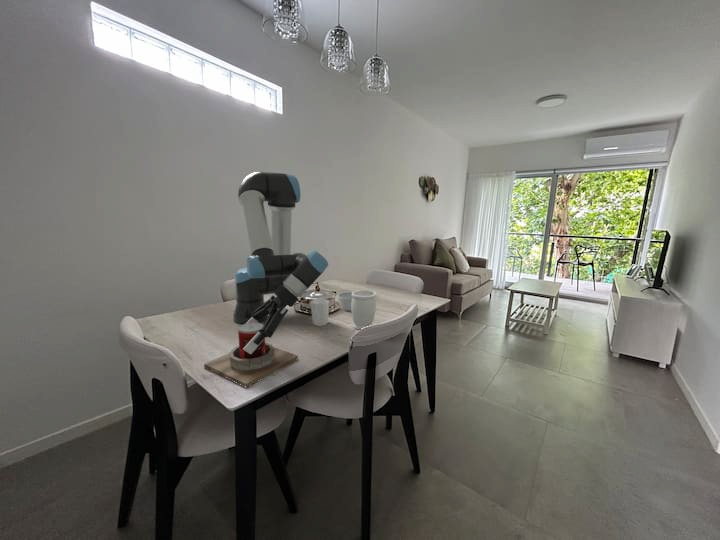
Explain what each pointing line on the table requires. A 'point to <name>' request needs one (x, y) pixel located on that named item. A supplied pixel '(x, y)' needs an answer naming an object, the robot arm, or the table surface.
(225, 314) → the table surface
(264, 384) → the table surface
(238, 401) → the table surface
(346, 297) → the ramekin
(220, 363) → the cup holder
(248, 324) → the canned food
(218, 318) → the table surface
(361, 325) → the jar
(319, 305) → the white cup
